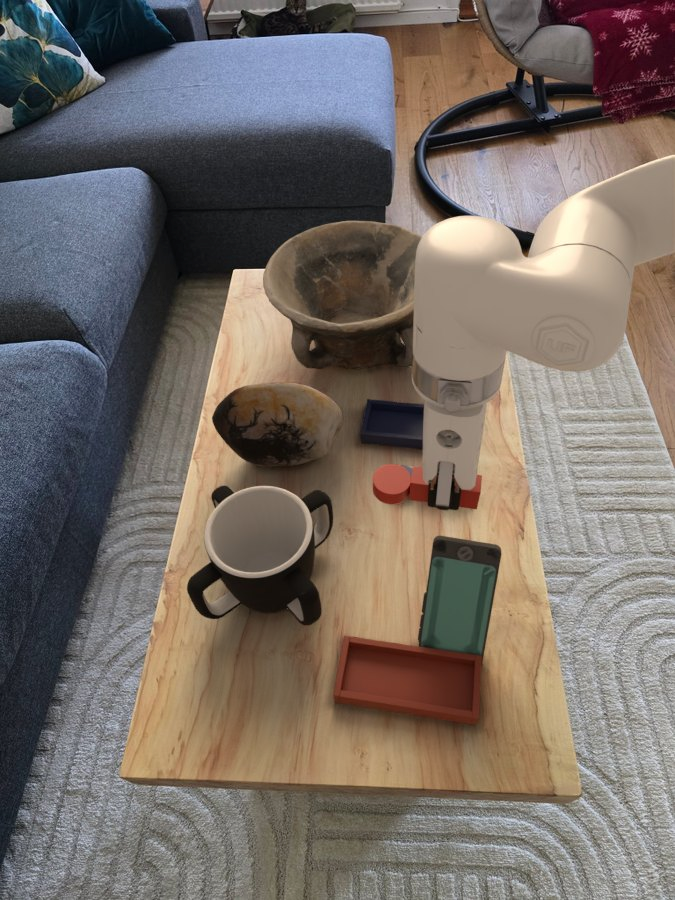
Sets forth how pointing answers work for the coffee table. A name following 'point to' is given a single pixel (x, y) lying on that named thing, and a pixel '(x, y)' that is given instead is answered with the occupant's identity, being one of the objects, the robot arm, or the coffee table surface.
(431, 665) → the red tray
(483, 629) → the smartphone
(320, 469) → the coffee table surface
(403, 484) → the red spoon
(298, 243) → the bowl
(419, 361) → the robot arm
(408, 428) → the blue tray
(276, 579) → the mug
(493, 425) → the coffee table surface
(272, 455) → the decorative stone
